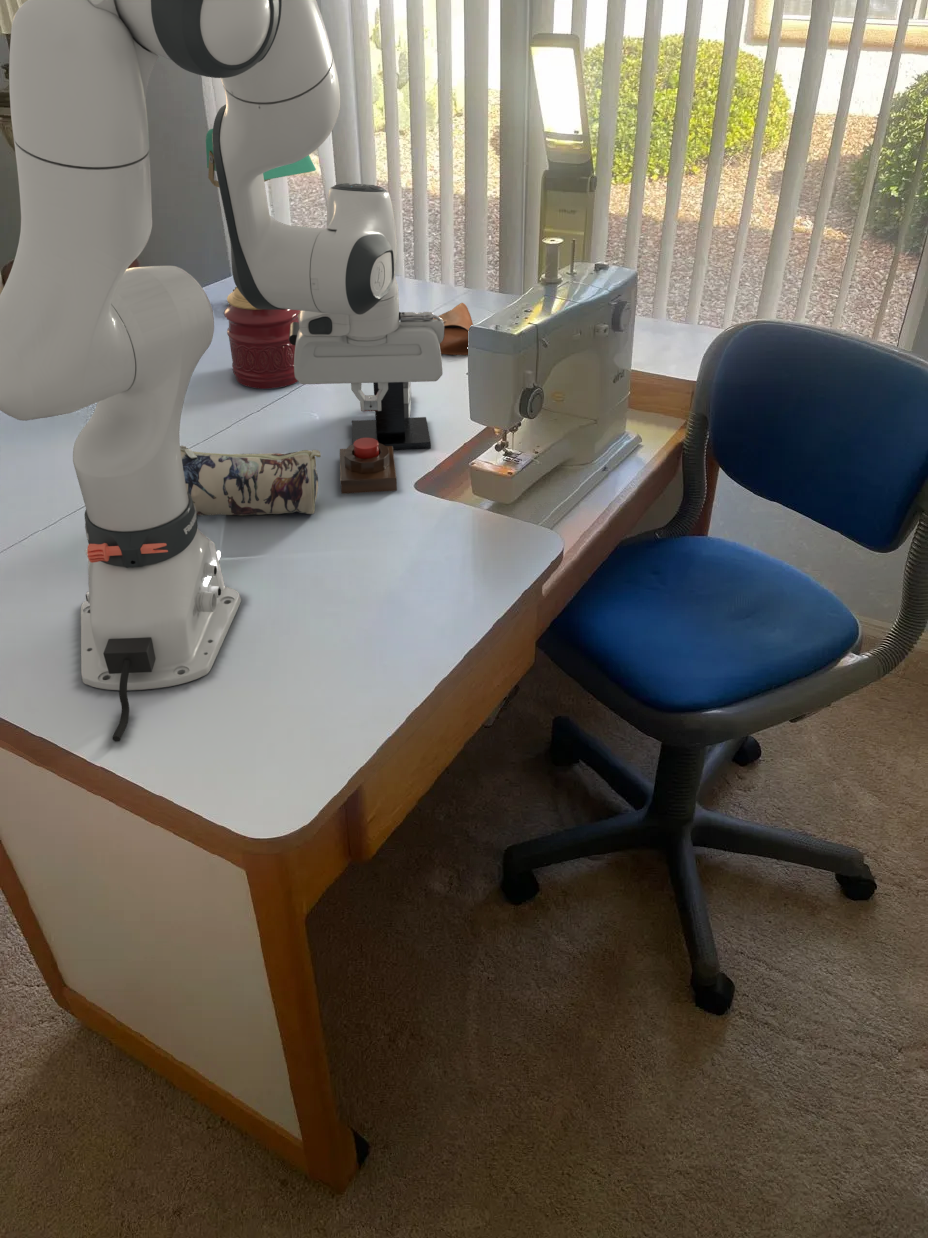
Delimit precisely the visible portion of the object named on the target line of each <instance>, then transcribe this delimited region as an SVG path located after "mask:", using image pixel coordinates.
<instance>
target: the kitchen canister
mask: <svg viewBox="0 0 928 1238" xmlns="http://www.w3.org/2000/svg"><path fill="white" fill-rule="evenodd" d="M234 289H235V288H234ZM226 299H227V300H226V301H227V303H228V305H227V307H226V308H225V309H224V312H223V315H224V317H225V319H227V321H228V327H227V330H226V334H227V337H228V341H229V347H230V348H229V349H230V353H231V361H232V363H231V367H232V373H233V374H234V377H235V381H237V382H238V384H240V385H243V386H245V387H248V388H251V389H261V390H262V389H264V390H267V389H279V388H285V387H288V386H291V385H294V384H296V383H299V382H298V381H297V379H296V378H295V374H294V354H295V345H292V344H291V343H290V342H289V334H290V325H291V323H293V322H298V323H299V318H298V315H299V313H300V310H291V309H284V310H277V309H257V308H255V307H253V306H252V305H251V304H250V303H249V302H248V301H247V300H246V299H245V298H244V296H243V295H242V294H241V293H240V291H239V290H238V288H236V289H235V291H233V290H232V292H231V293H228V295H227V297H226ZM229 304H230V305H229Z"/></svg>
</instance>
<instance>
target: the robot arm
mask: <svg viewBox="0 0 928 1238" xmlns="http://www.w3.org/2000/svg"><path fill="white" fill-rule="evenodd" d="M323 18H324V17H323V15H322V13H321V10H320V7H319V4H318V1H317V0H26V1H24V2H23V3H22V4H21V5H20V7H18V9H17V11H16V12H15V14H14V16H13V19H12V23H11V29H10V44H9V63H8V64H9V66H8V74H9V76H8V77H9V78H8V81H9V83H8V84H9V105H10V118H11V119H10V120H11V128H12V136H13V144H14V152H15V160H16V161H15V162H16V169H17V179H18V180H17V181H18V190H19V204H20V233H19V239H18V245H17V248H16V254H15V256H14V260H13V263H12V266H11V270H10V272H9V274H8V276H7V277H8V278H7V279H6V281H5V284H4V286H3V288H2V290H1V293H0V412H2V413H4V414H5V415H7V416H9V417H11V418H13V419H16V420H17V421H21V422H26V421H32V420H39V419H47V418H53V417H59V416H63V415H69V414H71V413H74V412H77V411H79V410H82V409H84V408H86V407H89V406H92V405H94V404H96V407H95V409H94V411H93V412H92V415H91V417H90V418H89V419H88V421H87V422H86V424H85V425H84V426H83V427H82V429H81V430H80V432H79V434H78V435H77V437H76V439H75V441H74V445H73V447H72V448H73V450H72V463H73V467H74V470H75V474H76V479H77V481H78V486H79V489H80V492H81V496H82V500H83V503H84V506H85V507H84V508H85V511H84V522H85V523H84V529H85V530H84V531H85V536H86V538H87V542H88V545H87V548H86V549H85V550H84V553H85V556H86V560H87V575H88V591H86V593H85V600H84V601H83V602H82V603H81V605H80V672H81V673H80V675H81V680H82V683H83V684H85V685H86V686H89V687H92V688H96V689H100V690H107V691H118V693H119V701H120V706H121V715H120V719H119V723H118V725H117V727H116V728H115V731H114V733H113V735H112V740H113V741H114V742H115V743H118V742H120V741H121V739H122V736H123V734H124V732H125V730H126V728H127V725H128V722H129V718H130V702H129V698H128V691H141V690H143V691H144V690H151V689H152V690H153V689H162V688H168V687H169V688H170V687H173V686H179V685H182V684H187V683H190V682H192V681H195V680H198V679H200V678H203V677H205V676H207V674H209V673H210V672H211V670H212V667H213V665H214V663H215V662H216V659H217V657H218V655H219V652H220V650H221V648H222V645H223V644H224V641H225V638H226V637H227V635H228V632H229V630H230V627H231V625H232V623H233V621H234V618H235V616H236V614H237V612H238V610H239V608H240V605H241V603H242V598H241V595H240V592H239V591H237V590H236V589H234V588H232V587H228V586H226V585H225V580H224V576H223V573H222V568H221V565H220V558H221V556H222V555H221V551H220V550H217V548H216V544H215V542H214V541H213V540H211V539H210V538H209V537H207V536H206V535H205V534H204V533H203V532H202V531H200V529H199V528H198V527H199V524H198V518H197V516H198V515H196V514H197V513H196V508H195V506H194V503H193V500H192V497H191V495H190V494H189V493H188V492H187V488H186V483H185V477H184V471H183V465H182V458H181V450H180V446H181V445H180V444H181V443H180V442H181V441H180V439H181V438H180V431H181V430H180V429H181V418H182V413H183V407H184V403H185V398H186V394H187V391H188V387H189V384H190V382H191V379H192V376H193V374H194V371H195V369H196V368H197V366H198V364H199V362H200V361H201V358H202V357H203V356H204V354H205V353H206V352H207V350H208V349H209V347H210V346H211V344H212V342H213V339H214V333H215V316H214V311H213V308H212V307H213V306H212V304H211V301H210V299H209V297H208V295H207V292H206V291H205V289H203V287H202V285H201V284H200V283H199V281H197V279H196V278H195V277H194V276H193V275H191V274H190V273H188V272H187V271H186V270H184V269H183V268H181V267H179V266H175V265H149V266H136V267H135V266H134V267H130V266H131V265H132V264H133V262H134V261H135V260H136V259H137V258H138V257H139V256H140V255H141V254H142V252H143V251H144V249H145V248H146V246H147V244H148V242H149V240H150V237H151V233H152V228H153V210H152V209H153V208H152V207H153V205H152V180H151V179H152V177H151V153H150V151H151V150H150V134H149V133H150V132H149V120H148V111H147V102H146V100H147V94H148V93H147V92H148V85H149V82H150V78H151V75H152V72H153V70H154V67H155V65H156V63H157V61H158V60H159V57H163V58H165V59H168V60H169V61H172V62H173V63H174V64H175V65H176V66H178V67H180V68H181V69H183V70H184V71H186V72H189V73H192V74H195V75H197V76H201V77H205V78H214V79H220V80H221V83H222V87H223V91H224V93H225V104H224V105H222V106H221V107H220V108H219V109H218V111H217V113H216V115H215V117H214V121H213V125H212V129H213V134H212V143H213V154H214V161H215V167H216V171H215V172H216V178H217V181H218V184H219V187H218V188H219V193H220V197H221V203H222V207H223V213H224V218H225V222H226V227H227V232H228V236H229V237H228V238H229V242H230V259H231V260H230V262H231V272H232V279H233V282H234V284H235V287H237V288H238V290H239V291H240V293H241V294H242V295H243V296H244V298H245V299H246V300H247V301H248V302H249V303H250V304H251V305H252V306H253V307H255V308H257V309H277V310H284V309H291V310H300V311H301V312H300V315H299V326H300V329H299V331H298V334H297V339H296V345H295V354H294V374H295V378H296V379H297V381H298V382H297V383H299V384H300V385H332V384H333V385H334V384H336V385H337V384H350V388H351V391H352V393H353V394H354V396H355V397H356V398H357V400H358V401H359V407H360V412H375V411H381V400H382V399H383V397H384V396H385V394H386V392H387V390H388V382H411V383H423V382H424V383H428V382H431V383H432V382H437V381H439V380H440V379H441V377H442V376H443V373H444V372H443V361H442V354H441V350H440V345H439V344H440V343H441V342H442V341H443V339H444V322H443V320H442V319H441V318H440V317H438V316H439V315H436V314H434V312H432V311H423V312H414V311H407V312H406V311H400V296H399V295H400V294H399V284H398V281H397V278H396V266H397V265H396V264H397V261H398V241H397V229H396V220H395V213H394V208H393V207H394V206H393V202H392V199H391V195H390V193H389V191H388V190H387V189H385V188H384V187H382V186H379V185H375V184H364V183H347V182H346V183H345V182H344V183H337V184H334V185H333V186H331V187H329V188H328V189H329V190H328V195H327V206H326V228H321V227H311V226H309V227H308V226H299V225H298V226H297V225H290V224H286V223H284V222H281V221H278V220H277V219H275V218H273V217H272V216H271V214H270V210H269V209H270V208H269V203H268V197H267V190H266V184H265V182H264V177H263V173H264V172H267V171H269V170H271V169H274V168H277V167H280V166H284V165H288V164H292V163H295V162H297V161H299V160H301V159H303V158H305V157H307V156H308V155H309V156H310V155H311V154H312V153H314V152H315V151H316V150H317V149H319V148H320V147H321V146H322V144H324V142H325V141H327V139H328V138H329V136H330V135H331V133H332V131H333V130H334V127H335V126H336V124H337V121H338V118H339V114H340V109H341V91H340V82H339V81H340V80H339V75H338V71H337V66H336V63H335V59H334V53H333V50H332V47H331V43H330V40H329V39H330V38H329V36H328V31H327V28H326V26H325V22H324V19H323ZM433 318H436V319H435V320H433ZM373 383H378V389H379V390H378V392H377V394H376V395H374V394H368V395H367V394H365V393H364V392H363V390H362V384H373Z"/></svg>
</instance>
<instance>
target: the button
mask: <svg viewBox="0 0 928 1238" xmlns="http://www.w3.org/2000/svg"><path fill="white" fill-rule="evenodd" d="M354 455H355V457H357V458H361V459H370V458H374V457H377V456H378V455H379V444H378V441H377V440H376V439H373V438H360V439H358V440H356V441H355V442H354Z"/></svg>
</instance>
